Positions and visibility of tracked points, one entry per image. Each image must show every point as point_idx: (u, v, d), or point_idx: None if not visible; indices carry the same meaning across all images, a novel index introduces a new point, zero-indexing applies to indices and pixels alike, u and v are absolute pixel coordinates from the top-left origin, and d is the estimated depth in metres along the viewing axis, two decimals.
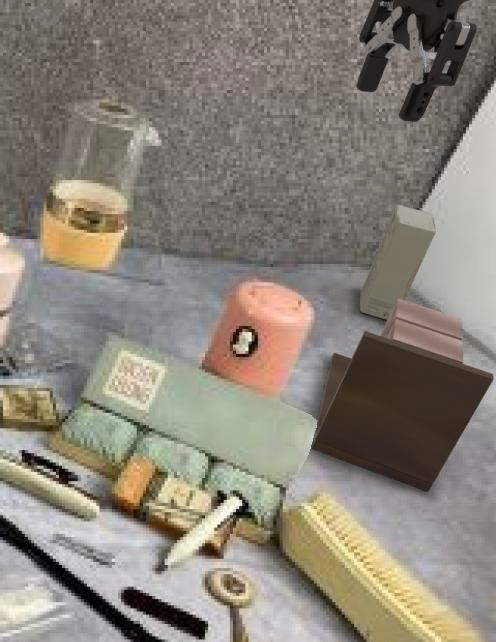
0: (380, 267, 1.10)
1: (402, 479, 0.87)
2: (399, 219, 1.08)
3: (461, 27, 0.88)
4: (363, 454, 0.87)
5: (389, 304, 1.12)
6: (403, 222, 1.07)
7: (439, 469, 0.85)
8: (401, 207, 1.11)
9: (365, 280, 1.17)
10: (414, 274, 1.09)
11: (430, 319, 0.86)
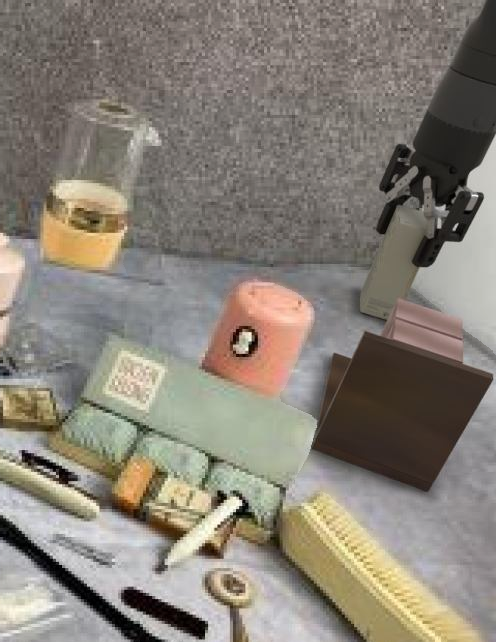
0: (380, 267, 1.10)
1: (402, 479, 0.87)
2: (399, 219, 1.08)
3: (470, 197, 1.00)
4: (363, 454, 0.87)
5: (389, 304, 1.12)
6: (404, 222, 1.07)
7: (439, 469, 0.85)
8: (401, 207, 1.11)
9: (365, 280, 1.17)
10: (414, 274, 1.09)
11: (430, 319, 0.86)
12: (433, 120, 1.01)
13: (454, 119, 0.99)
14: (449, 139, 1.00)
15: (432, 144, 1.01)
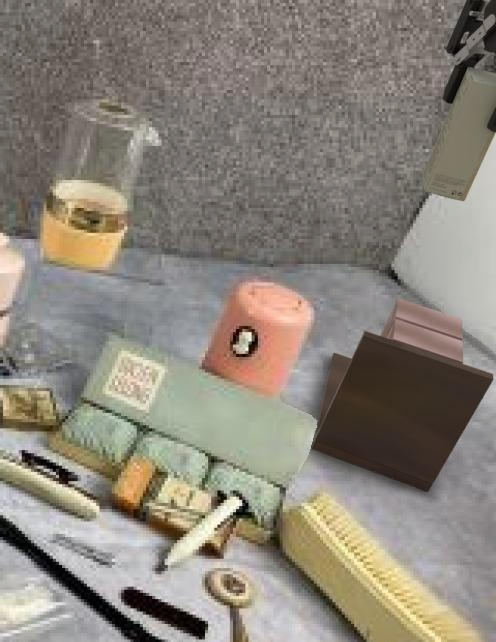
0: (449, 136, 0.96)
1: (402, 479, 0.87)
2: (472, 78, 0.94)
3: None
4: (363, 454, 0.87)
5: (459, 180, 0.98)
6: (478, 80, 0.93)
7: (439, 469, 0.85)
8: (473, 69, 0.97)
9: None
10: (488, 143, 0.96)
11: (430, 319, 0.86)
12: None
13: None
14: None
15: None
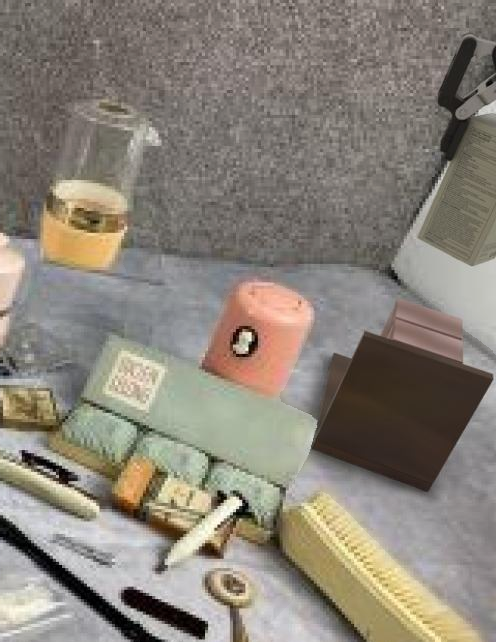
0: None
1: (402, 479, 0.87)
2: None
3: None
4: (363, 454, 0.87)
5: None
6: None
7: (439, 469, 0.85)
8: (479, 119, 0.82)
9: (426, 223, 0.88)
10: None
11: (430, 319, 0.86)
12: None
13: None
14: None
15: None
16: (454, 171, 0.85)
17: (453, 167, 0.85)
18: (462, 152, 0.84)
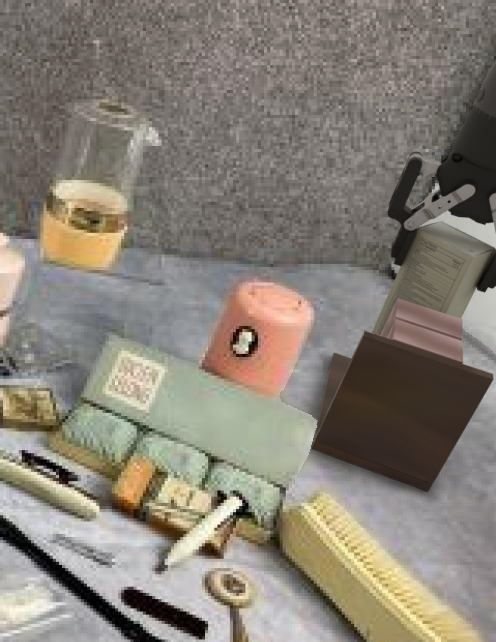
0: (447, 309, 0.89)
1: (402, 479, 0.87)
2: (462, 250, 0.86)
3: None
4: (363, 454, 0.87)
5: None
6: (473, 253, 0.86)
7: (439, 469, 0.85)
8: (426, 229, 0.89)
9: (380, 319, 0.95)
10: (470, 299, 0.91)
11: (430, 319, 0.86)
12: None
13: None
14: None
15: None
16: (404, 275, 0.91)
17: (403, 271, 0.91)
18: (411, 258, 0.90)
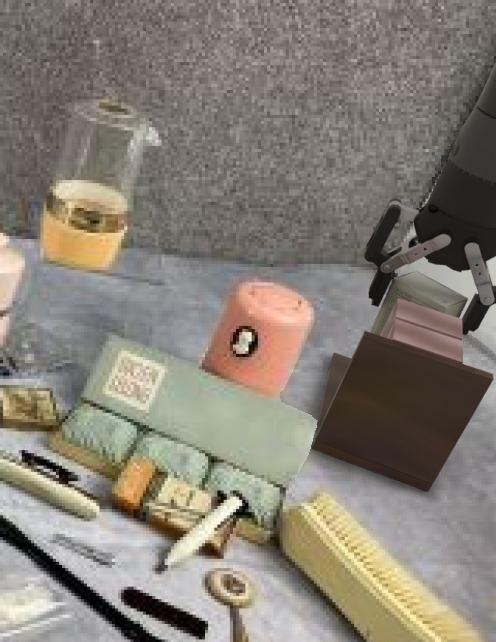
0: None
1: (402, 479, 0.87)
2: (435, 301, 0.89)
3: None
4: (363, 454, 0.87)
5: None
6: (446, 304, 0.89)
7: (439, 469, 0.85)
8: (401, 280, 0.92)
9: None
10: None
11: (430, 319, 0.86)
12: (493, 186, 0.81)
13: None
14: None
15: (495, 213, 0.83)
16: (381, 323, 0.94)
17: (380, 319, 0.94)
18: (387, 307, 0.93)
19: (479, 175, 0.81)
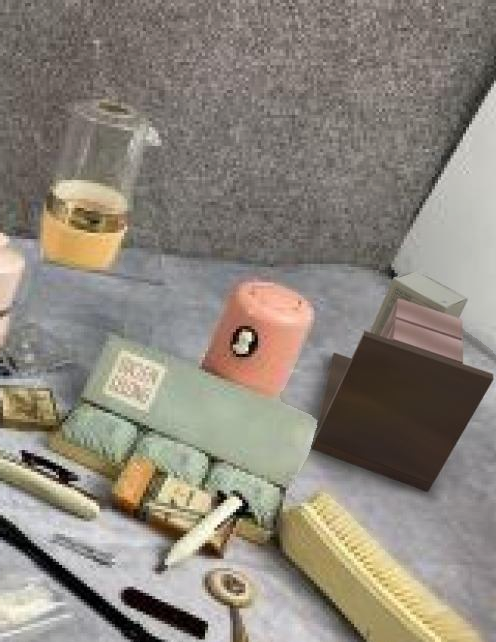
0: None
1: (402, 479, 0.87)
2: (435, 301, 0.89)
3: None
4: (363, 454, 0.87)
5: None
6: (446, 304, 0.89)
7: (439, 469, 0.85)
8: (401, 280, 0.92)
9: None
10: None
11: (430, 319, 0.86)
12: None
13: None
14: None
15: None
16: (381, 323, 0.94)
17: (380, 319, 0.94)
18: (387, 307, 0.93)
19: None
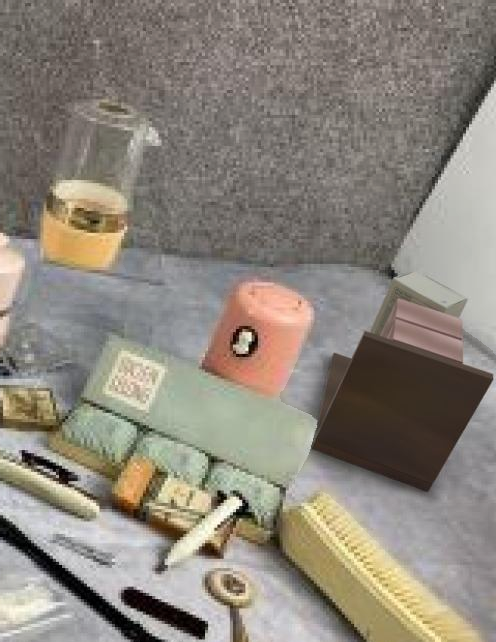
0: None
1: (402, 479, 0.87)
2: (435, 301, 0.89)
3: None
4: (363, 454, 0.87)
5: None
6: (445, 304, 0.89)
7: (439, 469, 0.85)
8: (401, 280, 0.92)
9: None
10: None
11: (430, 319, 0.86)
12: None
13: None
14: None
15: None
16: (381, 323, 0.94)
17: (380, 319, 0.94)
18: (387, 307, 0.93)
19: None
